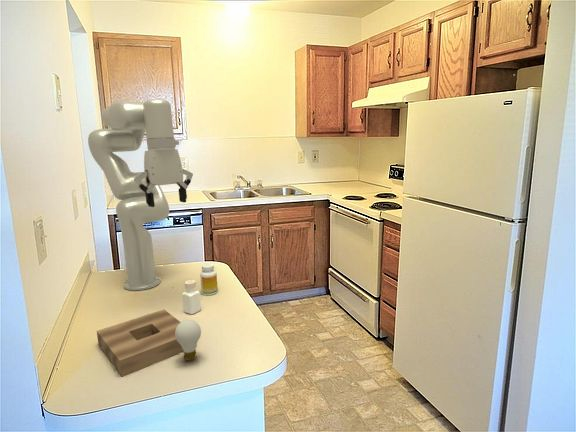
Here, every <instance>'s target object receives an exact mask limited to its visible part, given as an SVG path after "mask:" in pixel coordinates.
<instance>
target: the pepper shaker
mask: <svg viewBox="0 0 576 432" xmlns="http://www.w3.org/2000/svg"><path fill="white" fill-rule="evenodd" d="M196 283H197V282H196V280H195V279H188V280H186V281H184V290H185V291H183V292H182V294H181V297H182V307H183V312H185V313H187V314H188V315H189V314H190V315H193V314H195V313H198V312H200V311H201V310H202V303H201V292H200V291H199V290H197V285H196Z"/></svg>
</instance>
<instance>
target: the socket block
mask: <svg viewBox="0 0 576 432" xmlns="http://www.w3.org/2000/svg"><path fill="white" fill-rule="evenodd" d="M181 322H182V321H180V320H178V319H177V318H176V317H175V316H174V315H172V314H171V313H169V311H168V310H166V309H161V310H157V311H154V312H151V313H148V314H145V315H142V316H139V317H136V318H133V319H130V320H126V321H124V322H121V323H118V324H114V325H111V326H108V327H105V328H103V329H99V330H96V336H97V344H98V346H99V348H100V349H101V350H102V352H103V353H104V355H105V356H106V358H107V359H108V361H110V363H111V365H112V366H113V367H114V368H115V370H116V371H117V373H118V374H119V375H120V377H124V376H126V375H129V374H132V373H134V372H137V371H139V370H141V369H144V368H146V367H149V366H152V365H154V364H156V363H159V362H161V361H164V360H167V359H169V358H171V357H174V356H176V355H178V354H182V353H184V351H183V349H182V346H181V345H180V344H179V343H178V341H177V340H176V337H175V330H176V328H177V326H178V325H179V324H180V323H181Z"/></svg>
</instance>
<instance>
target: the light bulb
mask: <svg viewBox="0 0 576 432" xmlns="http://www.w3.org/2000/svg"><path fill="white" fill-rule="evenodd" d="M180 322H181V323H180V324H179V325H178V326H177V328H176V330H175V337H176V340H177V341H178V343H179V344H180V345H181V346H182V349H183V351H184V352H183V356H184V359H185V360H188V361H192V360H194V359H195V358H196V357H197V352H196V351H197V349H196V348H197V346H198V345H197V344H198V341H199V340H200V338H201V334H202V329H201V326H200V324H199V323H198V322H196V321H195V320H194V319H185V320H182V321H180Z"/></svg>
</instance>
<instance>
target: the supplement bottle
mask: <svg viewBox="0 0 576 432" xmlns="http://www.w3.org/2000/svg"><path fill="white" fill-rule="evenodd" d="M199 275H200V276H199V277H200V287H201V288H200V289H201V295H204V296H213V295H216V294H218V291H219V290H218V274H217V271H216V270H215V265H214V264H213V263H204V264H202V265H201V272H200V273H199Z"/></svg>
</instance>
